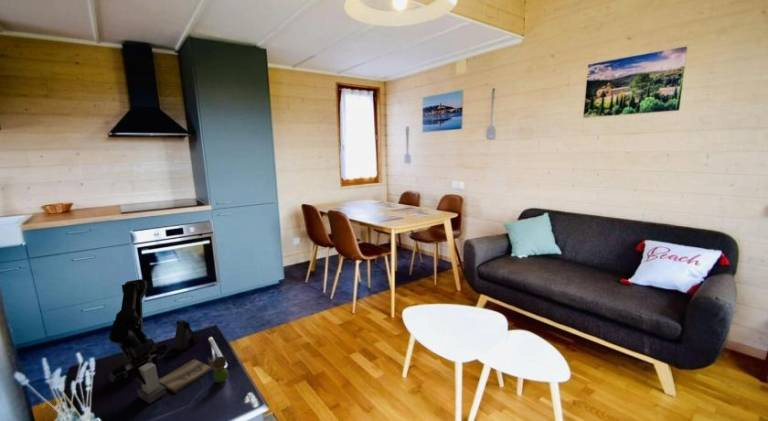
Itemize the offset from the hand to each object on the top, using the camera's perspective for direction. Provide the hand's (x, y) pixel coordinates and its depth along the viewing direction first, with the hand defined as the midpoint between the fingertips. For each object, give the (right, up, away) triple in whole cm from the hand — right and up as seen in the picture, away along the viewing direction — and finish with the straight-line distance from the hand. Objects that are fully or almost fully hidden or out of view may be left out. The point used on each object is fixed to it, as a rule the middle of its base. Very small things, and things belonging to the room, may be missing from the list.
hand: (151, 380), depth 127 cm
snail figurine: (+22, -4, +8) cm, 24 cm away
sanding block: (-1, -6, +2) cm, 7 cm away
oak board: (+6, -4, +12) cm, 14 cm away
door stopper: (-7, 0, +34) cm, 35 cm away
